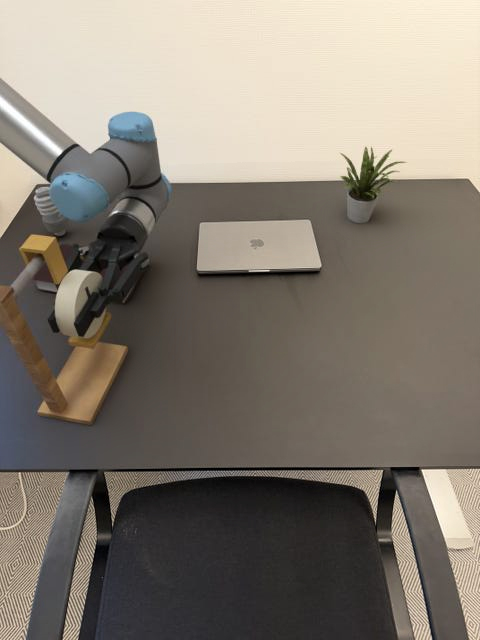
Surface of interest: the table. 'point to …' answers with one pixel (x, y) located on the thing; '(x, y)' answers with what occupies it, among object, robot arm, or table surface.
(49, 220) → the light bulb
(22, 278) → the stand
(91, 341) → the clock
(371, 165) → the house plant
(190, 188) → the table surface
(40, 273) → the book
